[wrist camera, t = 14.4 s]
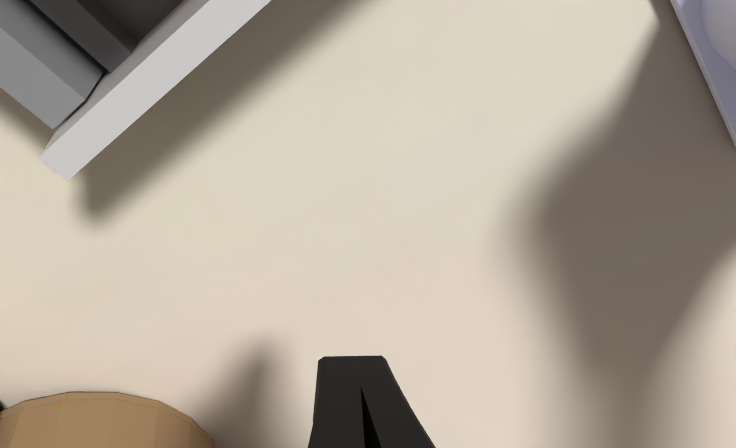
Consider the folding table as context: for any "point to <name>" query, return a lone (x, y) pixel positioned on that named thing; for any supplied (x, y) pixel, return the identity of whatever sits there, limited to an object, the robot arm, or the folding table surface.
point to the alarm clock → (98, 423)
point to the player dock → (43, 63)
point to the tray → (133, 62)
